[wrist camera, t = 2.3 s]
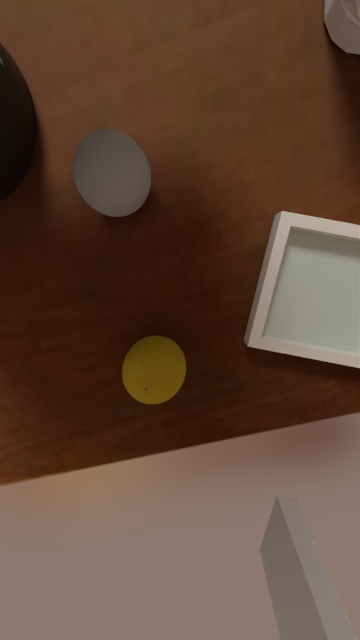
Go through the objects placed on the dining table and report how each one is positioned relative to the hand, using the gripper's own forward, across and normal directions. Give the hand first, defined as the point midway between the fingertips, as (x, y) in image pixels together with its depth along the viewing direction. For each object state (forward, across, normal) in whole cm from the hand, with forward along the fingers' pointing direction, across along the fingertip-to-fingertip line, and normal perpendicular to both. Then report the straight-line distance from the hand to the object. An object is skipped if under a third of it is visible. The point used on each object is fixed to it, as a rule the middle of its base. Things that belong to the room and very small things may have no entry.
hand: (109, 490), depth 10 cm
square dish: (+16, +14, +9) cm, 23 cm away
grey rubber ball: (+16, -6, +15) cm, 23 cm away
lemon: (+17, 0, 0) cm, 17 cm away
